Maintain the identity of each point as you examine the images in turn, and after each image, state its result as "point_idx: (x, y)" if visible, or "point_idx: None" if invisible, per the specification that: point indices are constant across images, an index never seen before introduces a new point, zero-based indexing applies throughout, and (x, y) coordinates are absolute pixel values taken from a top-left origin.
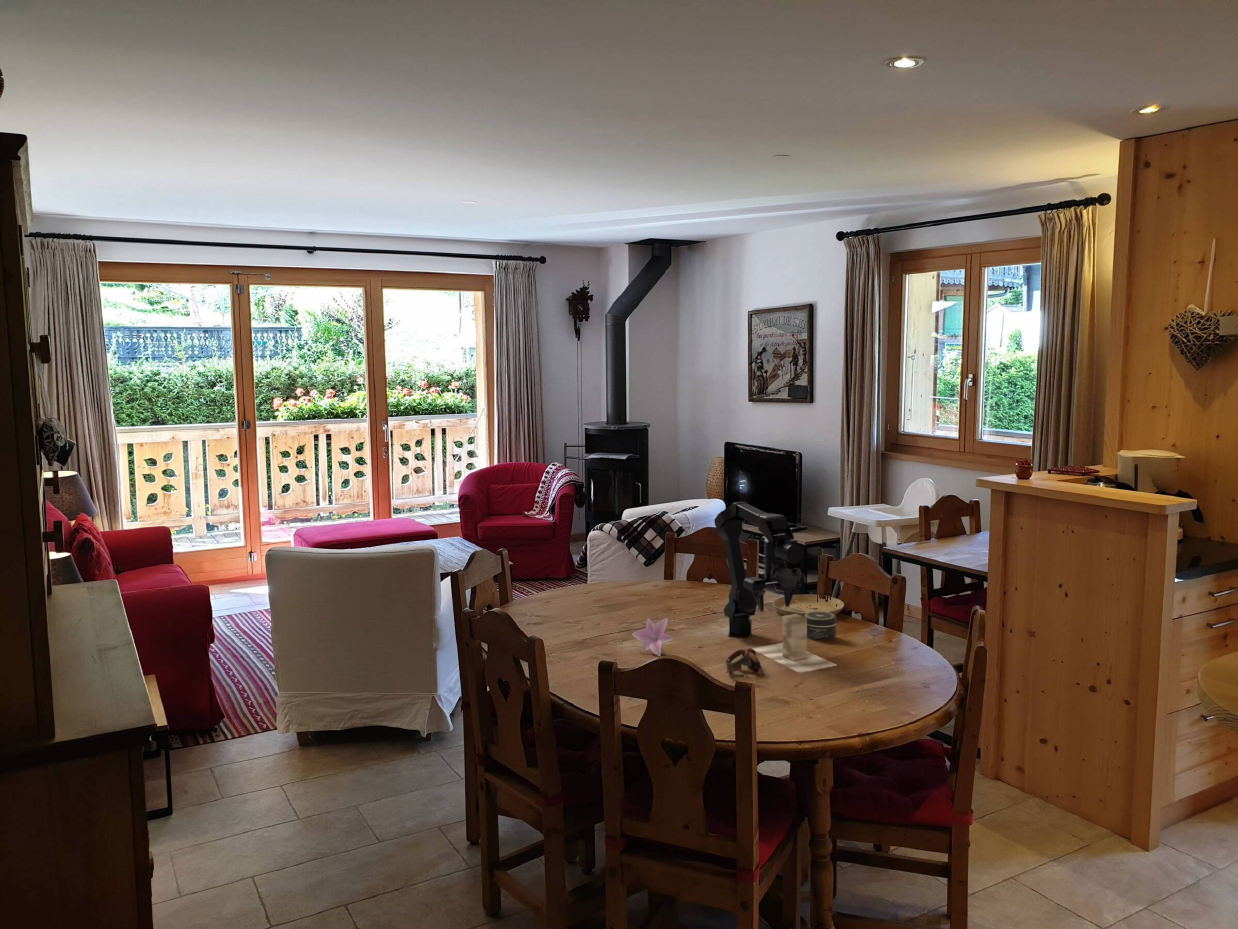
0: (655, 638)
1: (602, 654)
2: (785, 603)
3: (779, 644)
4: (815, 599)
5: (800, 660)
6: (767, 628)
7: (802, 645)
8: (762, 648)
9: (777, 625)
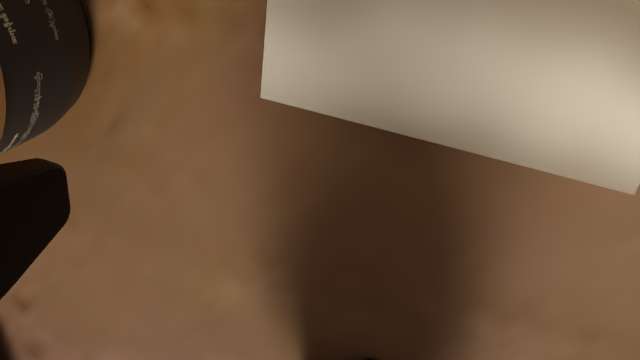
0: None
1: None
2: (31, 252)
3: (349, 93)
4: None
5: None
6: (169, 355)
7: None
8: (551, 123)
9: (99, 341)
